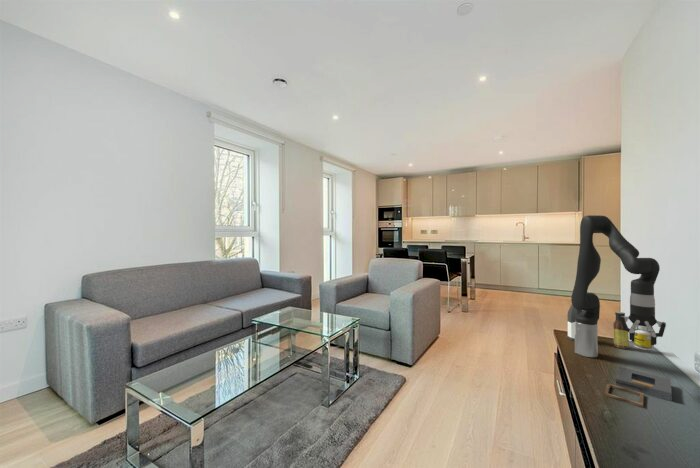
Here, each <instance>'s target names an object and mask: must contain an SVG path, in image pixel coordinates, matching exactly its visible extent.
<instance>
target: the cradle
mask: <svg viewBox="0 0 700 468" xmlns="http://www.w3.org/2000/svg"><path fill="white" fill-rule="evenodd" d="M611 388H612V389H615V390H618V389H619V391H622V392H625V393H629V394H632V395H636V396H639V402H638V401H635V400H631V399H628V398H625V397H621V396H617V395H615V394H613V393H609V392H610V390H611ZM603 394H604V395H606V396H605V397H607V396H609V397H608V398H610V397H612V398H611V399H613V398H615V399H614V400H617V399H618V401H620V400H621V401H620V402H623V401H624V403H626V402H627V404H630V403H631V404H630V405H633V404H634V405H633V406H636V405H637V407H639V406H641V407H640V408H644V401H645V400H644V399H645V394H644V393H641V392H637V391H634V390H630V389H626V388H623V387H619V386H616V384H612V383H607V384H606V387H605V389H604V393H603Z"/></svg>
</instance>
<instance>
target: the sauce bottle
mask: <svg viewBox="0 0 700 468" xmlns="http://www.w3.org/2000/svg"><path fill="white" fill-rule="evenodd" d="M614 315H615V321H613V323H612V324H613V325H612V326H613V328H612V329H613V333H612V334H613V346H614V347H616V348H617V349H622V350H628V349H629V346H630V339H629V332H628V331H625V330H624V329H623V326H622V322H621V316H624V317H626V313H625V312H623V311H615V313H614ZM627 328H629V326H628V325H627Z"/></svg>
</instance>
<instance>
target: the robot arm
mask: <svg viewBox="0 0 700 468" xmlns="http://www.w3.org/2000/svg"><path fill="white" fill-rule="evenodd" d="M579 225H580V226H579V251H578V257H577V263H576V264H577V266H576V274H575V281H574V285H573V290H572V294H571V297H570V298H571V301H570V302H571V305H573V307H574V308H575V309H577V310H582V312H581V313H580V314H578V315H576V317H575V330H576V335H575V341H574V353H575V354H576V355H579V356H583V357H585V358H597V357H598V356H599V349H598V348H599V345H598V343H599V342H598V341H599V340H598V336H599V335H598V330H599V329H598V321H599V319H600V313H601V311H600V310H601V309H600V308H601V302H600V298H599V297H598V295H597V294H596V293H594V292H588V290H589V287H590V285H591V284H592V283H593V281H594V279H595V278H596V277H597V275H598V274H599V272H600V269H601V261H602V259H601V256H600V254H599V252H598V251H597V249H596V247H595V244H594V241H593V240H594V239H593V238H594V234H603V235H605V236H606V237H607V238H608V244H609V248H610V250H611V251H612V252H613V253H614V254H615V255H616V256H617V257H618V258H619V259H620V261H621V263H622V265H623V267H624V269H625V270H626V271H627V272H628V273H630V274H632V275H639V277H638V278H636V279H632V280H631V281H630V295H629V316H625V317H624V316H621V322H622V326H623V329H624V330H625V331H628V337H629V341H631V342H632V343H634V330H635V329H637V328H636V327H637V326H638V325H641V326H647V328H648V329H649V331H650V333H651V334H652V347H655V345H657V341H658V340H657V338H662V337H664V333H665V330H666V327H667V324H666V322H664V321H658V320H657V319H656V300H655V283H656V281H657V278H658V275H659V272H660V270H661V269H660V264H659V262H658V261H657V260H656V259H655V258H652V257H639V256H640V252H639V249H637V248H636V247H635V245H633V244H632V243H631V242H629V240H627V239H626V237H624V236H623V234H622V233H621V232H620V231H619V230H618V228H617V227H616V225H615V224H614V223H613V222H612V220H611V219H610V218H609V217H607V216H606V215H596V214H595V215H592V214H591V215H584V216H583V217H582V218H581V221H580V224H579ZM628 320H629V321H630V323H632V325H631V327H630V328H629V327H628V328H627V326H628V324H627V322H628ZM656 324H657V325H658V327H659V329H658V332H656V331H655V329H654V325H656Z"/></svg>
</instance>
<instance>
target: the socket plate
mask: <svg viewBox="0 0 700 468" xmlns="http://www.w3.org/2000/svg"><path fill="white" fill-rule="evenodd" d="M615 385H616V386H619V387H623V388H626V389H630V390H633V391H637V392H640V393H644V395H648V396H651V397H655V398H660V399H662V400H666V401H669V402H672V399H673V397H672V395H673V394H672V382H671V378H668V377H664V376H660V375H656V374H652V373H648V372H644V371H639V370H636V369H632V368H627V367H623V366H619V367H618V370H617V372H616V377H615Z"/></svg>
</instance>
